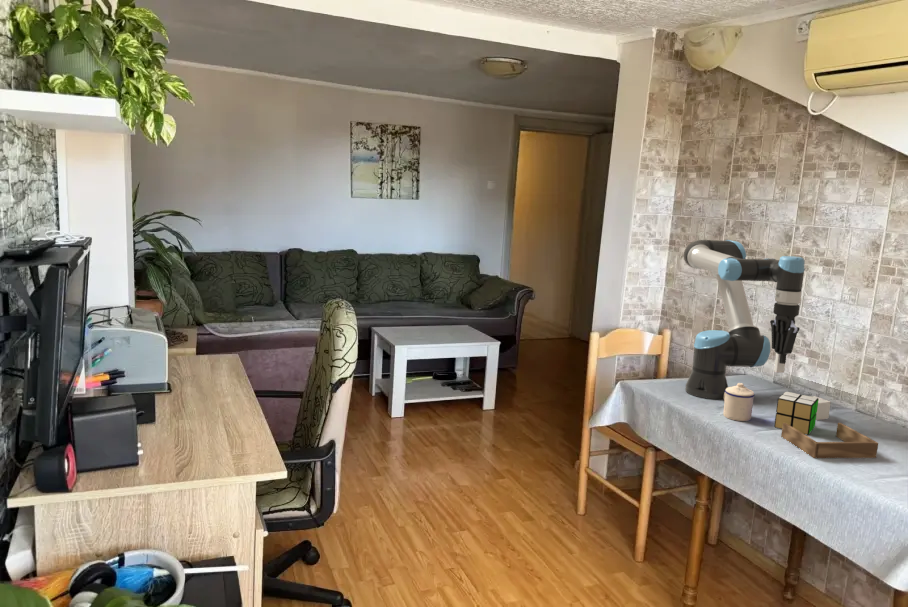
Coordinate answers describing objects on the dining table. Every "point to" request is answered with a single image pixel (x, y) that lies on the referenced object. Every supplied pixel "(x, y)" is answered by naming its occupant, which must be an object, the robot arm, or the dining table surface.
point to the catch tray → (833, 443)
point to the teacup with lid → (738, 403)
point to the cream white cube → (822, 409)
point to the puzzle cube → (796, 412)
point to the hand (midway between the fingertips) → (778, 371)
